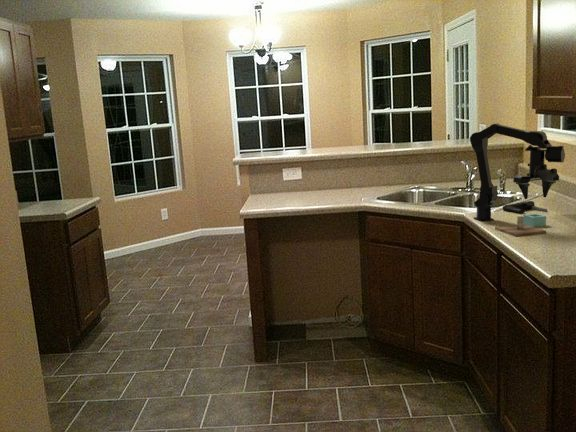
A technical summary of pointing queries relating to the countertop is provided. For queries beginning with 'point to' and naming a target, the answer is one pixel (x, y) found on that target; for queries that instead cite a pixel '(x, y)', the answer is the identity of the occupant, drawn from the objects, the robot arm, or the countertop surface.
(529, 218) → the collar
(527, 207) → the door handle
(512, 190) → the countertop surface
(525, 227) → the post plate
